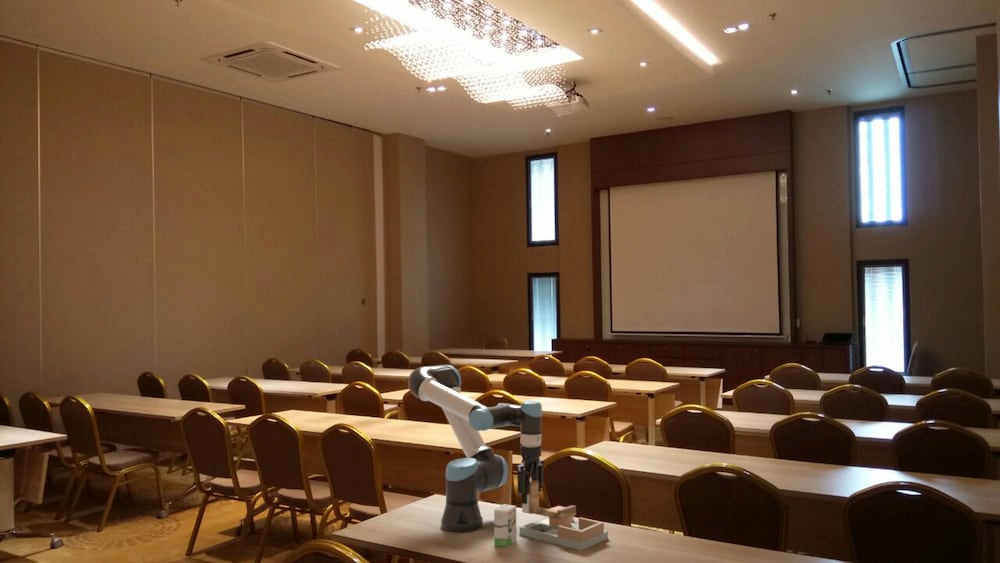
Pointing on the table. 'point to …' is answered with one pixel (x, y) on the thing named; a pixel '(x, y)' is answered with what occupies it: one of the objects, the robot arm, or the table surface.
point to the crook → (538, 510)
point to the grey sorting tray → (567, 533)
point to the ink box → (504, 525)
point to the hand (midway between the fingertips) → (530, 510)
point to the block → (559, 522)
